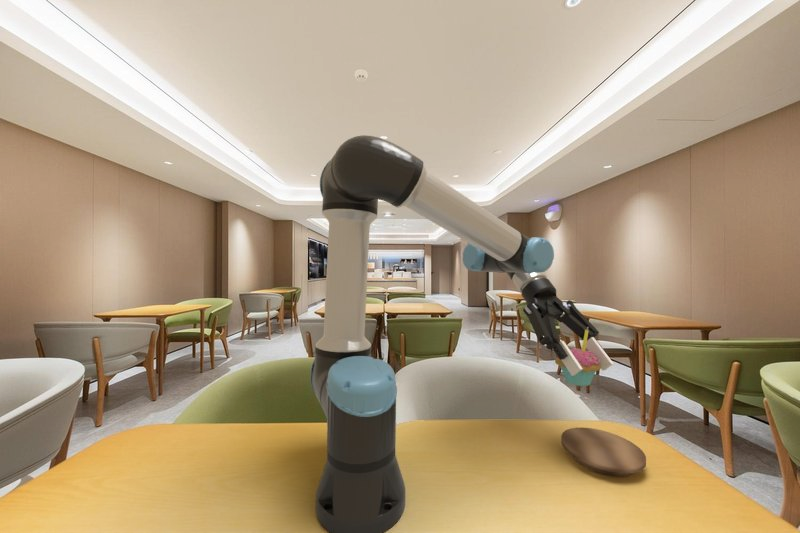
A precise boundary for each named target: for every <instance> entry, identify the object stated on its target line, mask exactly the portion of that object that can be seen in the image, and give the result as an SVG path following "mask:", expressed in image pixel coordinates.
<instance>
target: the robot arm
mask: <svg viewBox="0 0 800 533" xmlns="http://www.w3.org/2000/svg"><path fill="white" fill-rule="evenodd" d="M319 189H320V190H319V191H320V195H321V198H322V206H321V208H322V210H321V214H322V216H323V217H324V218H326V220H327V222H328V234H327V236H328V237H327V238H328V241H327V256H326V258H327V260H326V276H325V277H326V278H325V279H326V281H325V299H324V300H325V301H324V315H323V316H324V319H323V320H324V322H323V335H322V337H321V338H320V339H319V340H318V341H316V343H315V347H314V348H315V350H314V360H313V361H312V363H311V367H310V373H309V374H310V375H309V381H310V386H311V390H312V391H313V393H314V395H315V397H316V398H317V400H318V402H319V404H320V406H321V409H322V410H323V413H324V415H325V416H326V423H327V424H326V425H327V426H326V429H327V430H326V435H327V436H326V462H325V464H324V467H323V470H322V475H321V477H320V480H319V483H318V487H317V489H316V495H315V513H316V517H317V520H318V522H319V523H320V525H321V526H322V527H323V528H324V529H325V530H326V531H328V532H330V533H383V532H384V533H385V532H386V531H387V530H388V529H391V528H392V527H393V526H394V525H395V524H396V523H397V522H398V521H399V520H400V518H401V517H402V515H403V513H404V511H405V506H406V486H405V481H404V477H403V475H402V471H401V469H400V466H399V462H398V459H397V455H396V438H397V437H396V435H397V434H396V431H397V430H396V429H397V425H396V424H397V396H398V386H397V381H396V373H395V371H394V369H393V367H392V366H391V365H390V364H389V363H388V362H386V361H385V360H383V359H381V358H374V357H373V356H372V343H371V341H369V340H368V339H367V338H366V335H365V331H366V315H367V314H366V308H367V292H368V291H367V289H368V270H369V269H368V268H369V267H368V266H369V252H370V251H369V247H370V245H369V244H370V227H371V224H372V223H373V222H375V220H377V218H378V210H379V209H378V207H379V206H378V205H379V200H380V201H382V202H386V203H387V204H390V205H391V206H394V207H395V208H401V207H406V208H408V209H410V210H411V211H412V212H415V213H416V214H418V215H420V216H422V217H423V218H425V219H426V220H428V221H430V222H432V223H434V224H435V225H437V226H439V227H441V228H442V229H443V230H445V231H447V232H449V233H451V234H453V235H454V236H456V237H458V238H459V239H460V240H462V241H464V242H466V243H467V244H466V245H465V247H464V248H463V251H462V263H463V266H464V267H465V269H467V270H469V271H472V272H476V273H477V272H481V273H482V272H483V273H487V272H488V273H500V274H501V273H502V274H503V273H504V274H507V276H509V278H510V280H511V281H512V282H513V284H514V285H515V287H516V288H517V290H518V292H519V293H520V294H521V296H522V299H524V301H525V303H526V305H525V306H524V307H523V309H522V311H523V313H524V314H525V315H526V317H528V320H529V322H530V324H531V326H532V329H533V331H534V334H535V336H536V338H537V340H538V342H539V344H540V345H541V346H545V348H546V349H548V350H553V352H554V353H555V356H556V355H557V356H558V358H559V359H560V360H562V362H563V363H564V365H565V366H566V368H567V369H568V371H569V372H570V374H571V375H572V376H574V375H576V374H577V373H578V372H580V371H581V370H582V369H583V368H582V367H581V365H580V364H579V363H578V361H577V360H576V358H575V357H574V355H573V354H572V352H571V351H570V349H571V348H569V347H568V345H567V344H566V342H565V340H560V338H559V334H558V331H557V330H558V329H557V327H556V322H555V319H556V320H557V322H558V323H562V324H564V325H565V326H566V327H567V328H569V329H570V330H571V331H572V332H573V333H574V334H576V335H577V337H579V338H580V339H581V340H582V341H583V340H584V334H585V330H587V327H589V328H588V330H587V331H588V337H587V343H586V351H589V352H591V353H593V354H594V355H596V356H597V358H598V359H600V363H601V369H600V370H602V371H606V370H607V369H609V368H610V367H611V366H613V365H614V364H615V363H614V362H613V361H612V359H611V358H610V357H609V355H608V354H607V353H606V352H605V350H604V348H603V346H602V345H601V344H600V342H599V341H598V340H597V339H596V337H597V336H598V335H599V334H600V332H599V330H598V329H597V328H596V327H595V326H594V325H593V324H592V323H591V321H589V320H588V319H587V318H586V317H585V315H584V314H583V313H581V312H580V310H579V309H578V308H577V307H576V305H575V304H574V302H573V301H572V300H570V299H568V300H567V301H566V302H564V301H562V299H560V298H559V297H557V288H556V287H555V285H553V283H552V282H551V280H550V279H548V277H547V275H546V274H545V273H544V272H546V271H548V270H549V269H550V268H551V267H552V265H553V261H554V259H555V250H554V247H553V245H552V244H551V242H550V240H548V239H547V238H545V237H538V236H534V237H533V236H532V237H529V236H527V235H524V234H523V233H522V232H520V231H519V230H517V229H515V227H512V226H511V225H509V224H508V223H506V222H505V221H503V220H502V219H500V218H499V217H498V216H496V215H494V214H492V213H491V212H490V211H488V210H486V208H483V207H482V206H480V205H479V204H477V203H476V202H475V201H473V200H472V199H470V198H469V197H467V196H465V195H464V194H462V193H461V192H460V191H458V190H456V189H455V188H453V187H452V186H450V185H449V184H447V183H446V182H445V181H443V180H441V179H440V178H438V177H437V176H435V175H433V173H431V172H429V171H428V170H426V164H425V161H423V160H422V159H421V158H419V157H417V156H416V155H414V154H412V152H410V151H409V150H406V149H405V148H403V147H401V146H400V145H397V144H395V143H394V142H391V141H389V140H386V139H384V138H381V137H378V136H373V135H358V136H357V135H356V136H353V137H351V138H348V139H347V140H345V141H344V142H343V143H341V144H340V145H339V147H338V148H337V150H336V152H335V153H334V155H333V156H332V158H331V159H330V160H328V161H327V163H326V164H325V166H324V168H323V169H322V171H321V174H320V178H319Z"/></svg>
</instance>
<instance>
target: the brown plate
mask: <svg viewBox="0 0 800 533" xmlns="http://www.w3.org/2000/svg"><path fill="white" fill-rule="evenodd" d="M560 439H561V441H560V443H561V446H562V447H563V449H564V450H565V451H566V452H567V453H568V454H569V455H570V456H572V458H573V459H574V461H575V462H577V463H578V464H579V465H581V466H582V467H584V468H586V469H587V470H590V471H591V472H594V473H597V474H600V475H604V476H607V477H614V478H623V477H628V476H631V475H632V474H634V473H640V472H641V471H644V469H645V468H646V467H647V456H646V454H645V452H644V451H643V449H641V448H640V447H639V446H638V445H637V444H635V443H633V442H632V441H631V440H629V439H626V438H625V437H622V436H620V435H618V434H615V433H613V432H610V431H605V430H602V429H597V428H592V427H571V428H568V429H565V430H564V431H563V432H562V433H561V437H560Z"/></svg>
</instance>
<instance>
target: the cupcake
mask: <svg viewBox="0 0 800 533" xmlns="http://www.w3.org/2000/svg"><path fill="white" fill-rule="evenodd" d="M588 328H589V327H587V330H588ZM587 330H585V334H584V340H582V346H581V348H578V347H577V348H576V347H574V348H569V349H570V351H571V352H572V354H573V355H574V357H575V358H576V360H577V361H578V363H579V364H580V365H581V367H582V368H583V369H582V370H581V371H580V372H578V373H577V374H576V375H574V376H572V375H571V374H570V372H569V371H568V369H567V368H566V366H565V365H564V363H563V362H562V360H560V359H559V358H558V356H557V355H556V354H555V364H556V365H557V366H559V368H560V369H561V371H562V374H563V377H564V381H565V382H567V383H568V384H571V385H573V386H577V387H587V386H590V385H591V383H592V381H593V378H594V376H595V374H596V372H598V371H600V370H602V369H601V363H600V359H598V358H597V356H596V355H594V354H593V353H591V352H589V351H588V350H587V348H586V343H587V337H588V331H587Z"/></svg>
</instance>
